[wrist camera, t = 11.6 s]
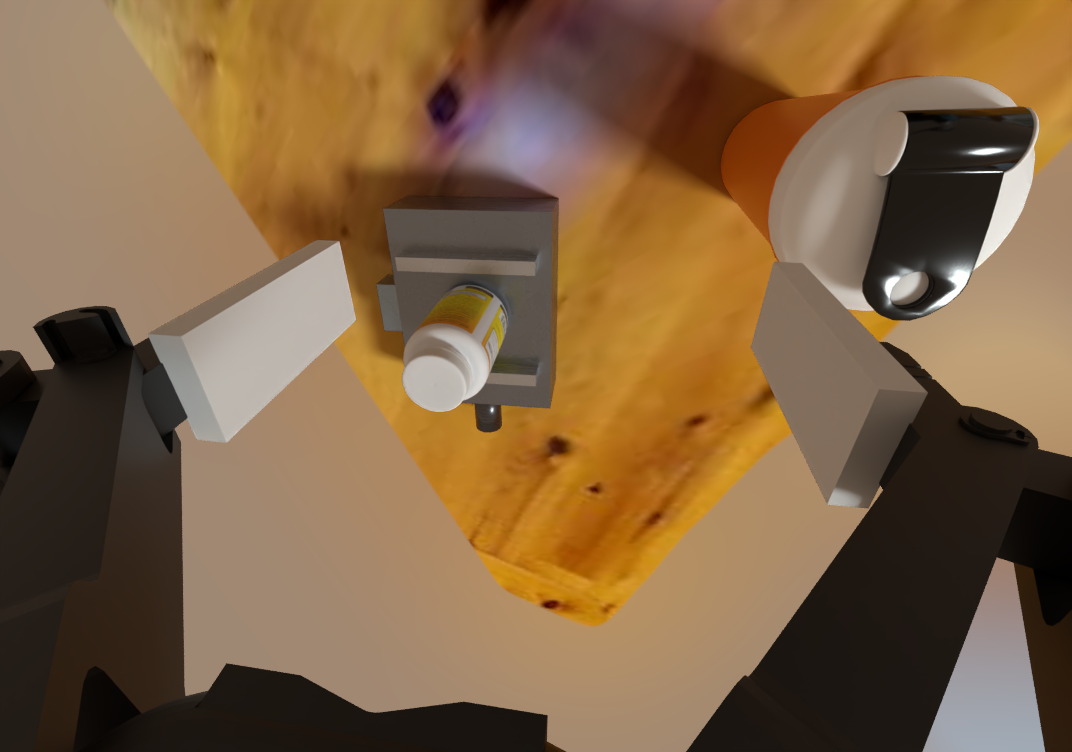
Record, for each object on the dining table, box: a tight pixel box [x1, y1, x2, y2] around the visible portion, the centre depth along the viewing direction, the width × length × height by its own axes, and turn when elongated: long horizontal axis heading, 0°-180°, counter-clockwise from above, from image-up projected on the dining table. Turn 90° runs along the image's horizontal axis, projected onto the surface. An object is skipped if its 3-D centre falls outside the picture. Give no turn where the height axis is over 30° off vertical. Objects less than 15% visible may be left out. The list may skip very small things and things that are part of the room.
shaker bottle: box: [721, 76, 1039, 321], centre depth 25 cm, size 9×9×20 cm
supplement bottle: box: [402, 285, 508, 412], centre depth 33 cm, size 6×6×10 cm
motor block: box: [376, 196, 559, 432], centre depth 40 cm, size 20×14×6 cm
